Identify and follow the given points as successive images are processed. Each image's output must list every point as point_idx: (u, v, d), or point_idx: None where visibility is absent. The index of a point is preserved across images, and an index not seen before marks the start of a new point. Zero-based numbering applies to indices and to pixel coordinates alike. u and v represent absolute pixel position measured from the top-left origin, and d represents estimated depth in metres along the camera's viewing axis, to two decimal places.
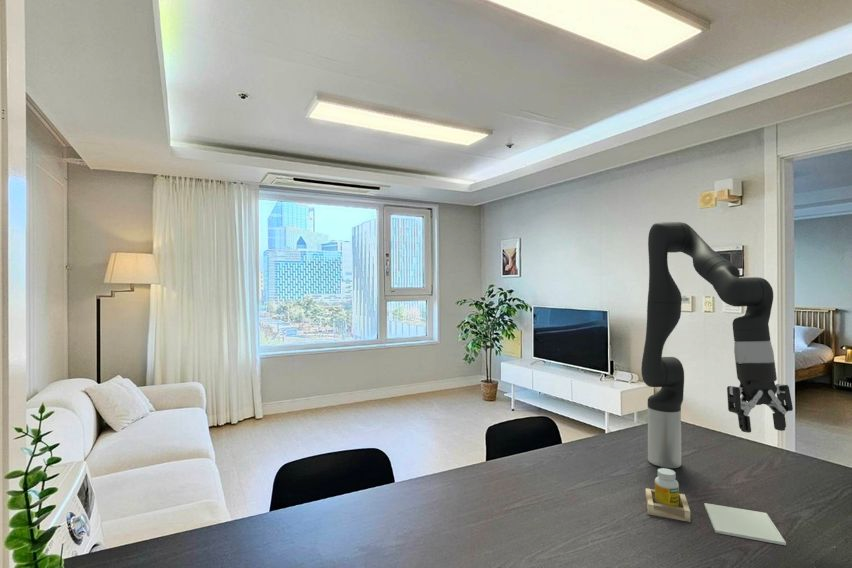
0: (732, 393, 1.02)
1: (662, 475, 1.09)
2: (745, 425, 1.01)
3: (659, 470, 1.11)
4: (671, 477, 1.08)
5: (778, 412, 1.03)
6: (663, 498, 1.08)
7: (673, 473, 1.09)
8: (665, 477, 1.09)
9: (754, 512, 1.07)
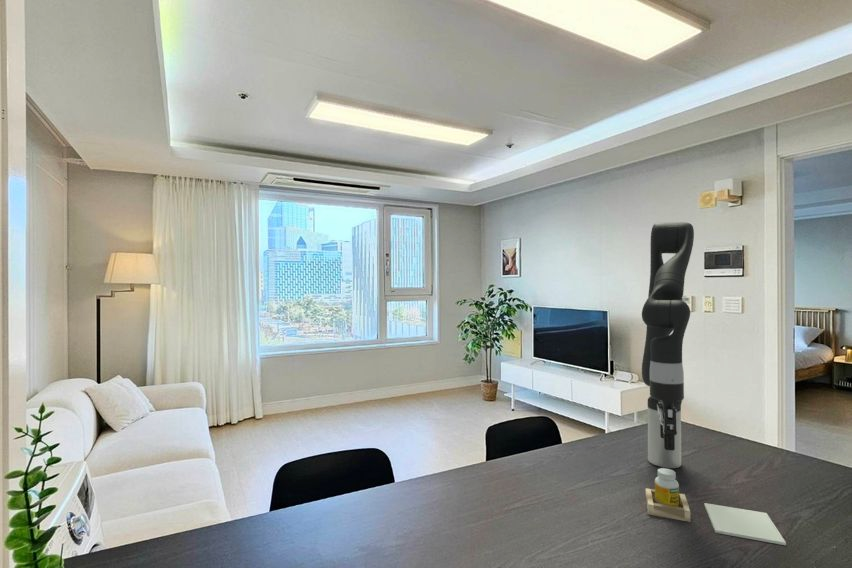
0: None
1: (662, 475, 1.09)
2: None
3: (659, 470, 1.11)
4: (671, 477, 1.08)
5: None
6: (663, 498, 1.08)
7: (673, 473, 1.09)
8: (665, 477, 1.09)
9: (754, 512, 1.07)
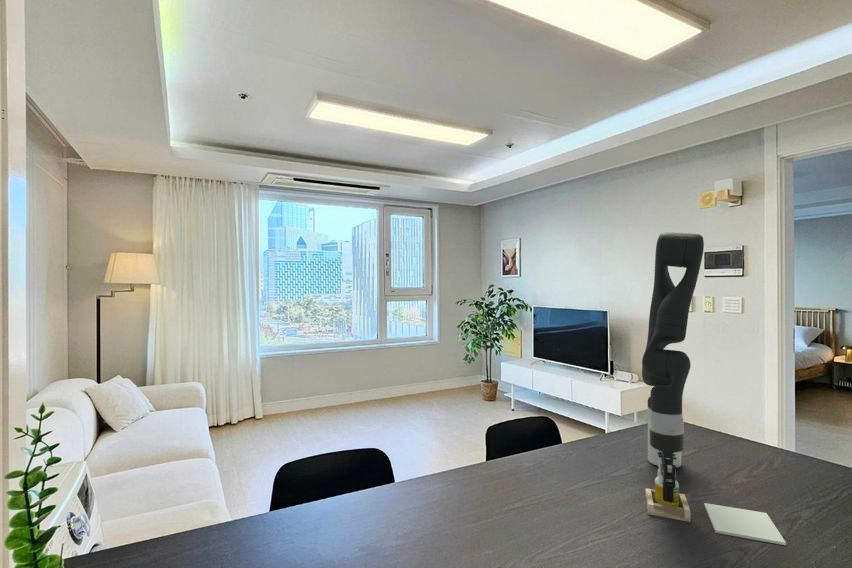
0: None
1: None
2: None
3: (659, 470, 1.11)
4: None
5: None
6: None
7: None
8: None
9: (754, 512, 1.07)
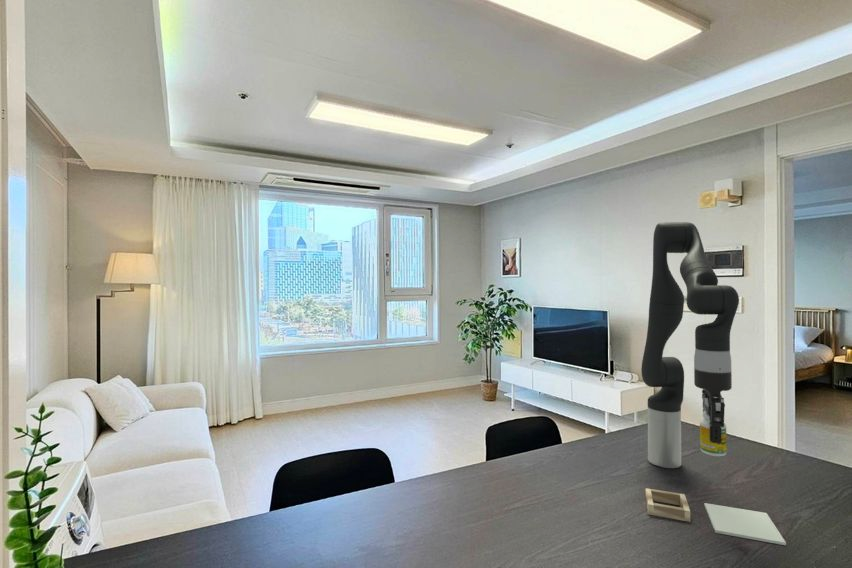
0: None
1: None
2: None
3: (705, 412, 1.06)
4: (718, 418, 1.03)
5: None
6: None
7: None
8: None
9: (754, 512, 1.07)
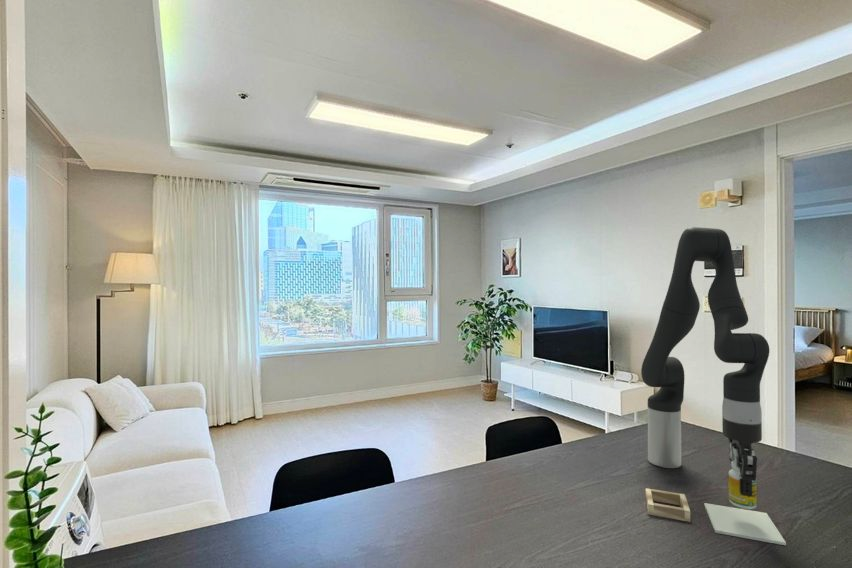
0: None
1: None
2: None
3: (734, 462, 1.04)
4: None
5: None
6: None
7: None
8: None
9: (754, 512, 1.07)
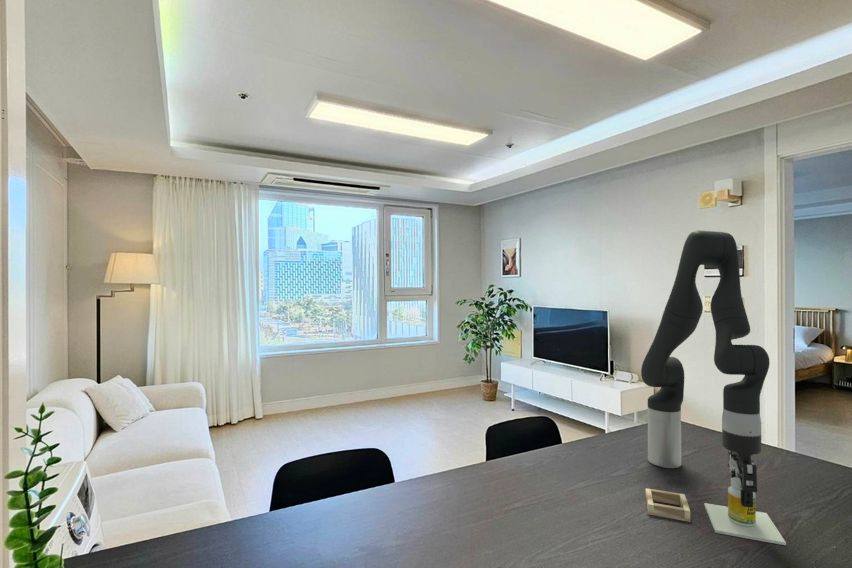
0: None
1: (738, 485, 1.02)
2: None
3: (733, 479, 1.04)
4: None
5: None
6: (739, 510, 1.02)
7: (749, 483, 1.02)
8: None
9: None
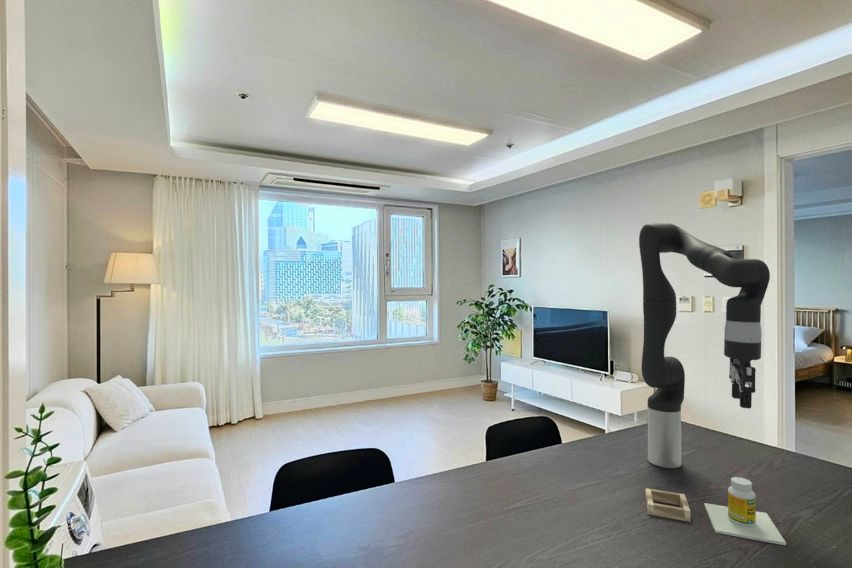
0: None
1: (738, 485, 1.02)
2: None
3: (733, 479, 1.04)
4: (747, 487, 1.01)
5: None
6: (739, 510, 1.02)
7: (749, 483, 1.02)
8: (742, 488, 1.02)
9: None
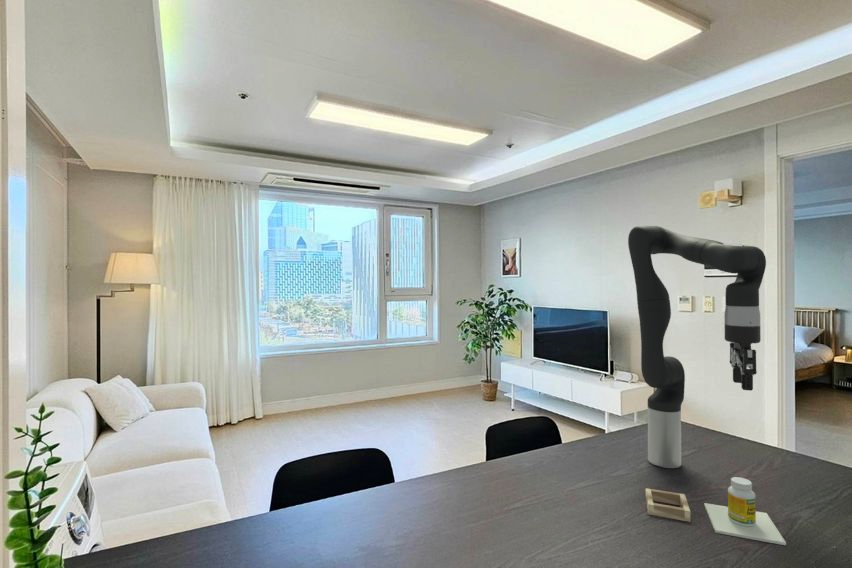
0: None
1: (738, 485, 1.02)
2: None
3: (733, 479, 1.04)
4: (747, 487, 1.01)
5: None
6: (739, 510, 1.02)
7: (749, 483, 1.02)
8: (742, 487, 1.02)
9: None
